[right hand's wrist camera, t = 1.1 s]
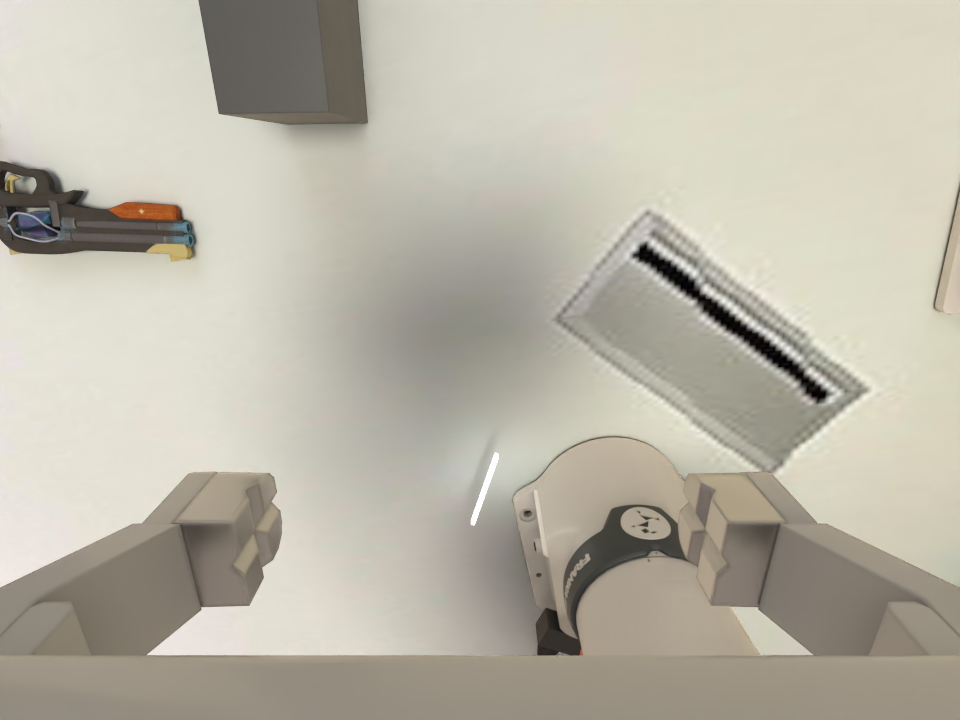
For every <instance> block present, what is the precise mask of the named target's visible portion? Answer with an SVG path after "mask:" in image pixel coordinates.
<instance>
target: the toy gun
mask: <svg viewBox="0 0 960 720" xmlns="http://www.w3.org/2000/svg"><path fill="white" fill-rule="evenodd" d="M7 171H8V172H11V173H15V174H18V175H22V176H28V177H34V178H35V179H36V182H37V186H36V189H35V191H34V192H33V194H19V193H15V188H14V181H15V180H18V179H21V178H20V177H18V176H16V175H12V174H11V175H10V176H9V177H8V179H7V181H6V184H5V182H4V178H5V175H6V172H7ZM9 183H10V191H9ZM83 192H84V191H78V190H72V191H69V192H66V193H62V194H58V193H57V192H56V191H55V185H54V181H53V179H52V177H51V176H50V175H49V174H48V173H47V172H46V171H44V170H38V169H26V168H22V167H19V166H16V165H13V164H10V163H7V162H3V161H0V239H1V241H2V242H3V243H4V244H5V245H6V246H7V247H9V250H10V254H18V253H29V254H66V253H73V252H79V251H84V250H92V251H121V252H146V253H162V254H170V259H171V261H179V260H187V259H190V257H191V256H192V250H191V247H190V246H193V243H194V239H193V236H192V235H191V234H187V233H190V232H191V225H190V223H189V222H186V221H183V220H181V218H180V210H179V208H178V206H173V205H161V204H149V203H135V202H126V203H123V204H120V205H118V206H115V207H113V208H110V209H108V210H107V209H90V208H85V207H81V206H78V205H75V203H76V202H77V201H78V200H79V199H80V197H81V196H82V194H83ZM16 207H50V212H45V211H35V212H31V213H23V212H17V209H16ZM20 230H21V231H23V232H24V233H26V234H28V235H30V236H31V237H33V238H35V239H32V238H28V237H24V236H21V231H20ZM54 237H58V238H54ZM39 238H54V239H50V240H36V239H39ZM54 240H58V241H55V242H51V241H54Z"/></svg>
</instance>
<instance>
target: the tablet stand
mask: <svg viewBox="0 0 960 720" xmlns="http://www.w3.org/2000/svg"><path fill="white" fill-rule="evenodd" d="M935 307H936V309H937V310H938V311H940V312H943V313H946V314H960V194H959V199H958V203H957V208H956V212H955V217H954V221H953V226H952V230H951V235H950V239H949V244H948V248H947V253H946V257H945V262H944V267H943V271H942V276H941V280H940V285H939V289H938V294H937V298H936V303H935Z"/></svg>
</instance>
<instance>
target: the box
mask: <svg viewBox="0 0 960 720" xmlns="http://www.w3.org/2000/svg"><path fill="white" fill-rule="evenodd" d="M199 5H200V11H201V16H202V22H203V27H204V33H205V39H206V44H207V50H208V55H209V61H210V67H211V72H212V78H213V83H214V89H215V95H216V100H217V106H218V111H219V114H223V115H229V116H236V117H242V118H249V119H255V120H261V121H268V122H274V123H281V124H340V123H368V121H367V109H366V97H365V85H364V73H363V61H362V49H361V38H360V26H359V14H358V2H357V0H199Z"/></svg>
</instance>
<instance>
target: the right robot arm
mask: <svg viewBox="0 0 960 720" xmlns="http://www.w3.org/2000/svg"><path fill="white" fill-rule="evenodd" d="M497 460H498V454H497V453H495V454H494V457H493V460H492V463H491V465H490V468H489V471H488V474H487V477H486V480H485V482H484V485H483V488H482V491H481V494H480V497H479V499H478V502H477V505H476V508H475V511H474V514H473V516H472V519H471V525H475V522H476V519H477V516H478V513H479V511H480V508H481V505H482V502H483V500H484V497H485V494H486V491H487V488H488V486H489V483H490V480H491V477H492V474H493V472H494V469H495V466H496V463H497ZM276 493H277V489H276V484H275V480H274V477H273V476H272V475H271V474H270V473H241V472H219V473H218V472H193V473H190V474H188V475H187V476H186V477H185V478H184V479H183V480H182V481H181V482H180V483H179V484H178V485H177V486H176V488H175V489H174V490H173V491H172V492H171V493H170V494H169V495H168V496H167V497H166V498H165V499H164V500H163V501H162V503H161V504H160V505H159V506H158V507H157V508H156V509H155V510H154V511H153V512H152V513H151V514H150V515H149V517H148V518H147V519H146V520H145V521H144V522H143V523H142V524H132V525H130V526H128V527H126V528H124V529H121V530H119V531H117V532H115V533H113V534H111V535H109V536H107V537H105V538H103V539H101V540H99V541H96V542H94V543H92V544H90V545H88V546H86V547H84V548H82V549H80V550H78V551H76V552H74V553H71V554H69V555H67V556H65V557H63V558H61V559H59V560H57V561H55V562H53V563H51V564H49V565H46V566H44V567H42V568H40V569H38V570H36V571H34V572H32V573H30V574H28V575H26V576H24V577H22V578H19V579H17V580H15V581H13V582H11V583H9V584H7V585H5V586H3V587H1V588H0V720H960V588H959V587H957V586H955V585H953V584H951V583H949V582H946V581H944V580H942V579H940V578H938V577H936V576H934V575H932V574H930V573H928V572H926V571H924V570H922V569H919V568H917V567H915V566H913V565H911V564H909V563H907V562H905V561H903V560H901V559H899V558H897V557H895V556H892V555H890V554H888V553H886V552H884V551H882V550H880V549H878V548H876V547H874V546H872V545H870V544H868V543H866V542H863V541H861V540H859V539H857V538H855V537H853V536H851V535H849V534H847V533H845V532H843V531H841V530H839V529H836V528H834V527H832V526H830V525H828V524H818V523H817V522H816V521H815V520H814V519H813V518H812V517H811V515H810V514H809V513H808V512H807V511H806V510H805V509H804V508H803V507H802V506H801V505H800V504H799V503H798V501H797V500H796V499H795V498H794V497H793V496H792V495H791V494H790V493H789V492H788V491H787V490H786V489H785V487H784V486H783V485H782V484H781V483H780V482H779V481H778V480H777V479H776V478H775V477H774V476H773V475H772V474H770V473H768V472H740V473H707V474H688V476H687V478H686V480H683V479H682V478H681V477H680V476H679V475H678V474H677V472H676V471H675V469H674V467H673V466H672V464H671V463H670V462H669V460H668V459H667V458H666V457H665V456H664V455H663V454H662V453H660V452H659V451H658V450H656V449H655V448H653V447H651V446H650V445H648V444H645V443H643V442H640V441H637V440H633V439H628V438H619V437H610V438H600V439H595V440H591V441H587V442H584V443H582V444H579V445H577V446H575V447H573V448H571V449H569V450H568V451H566V452H564V453H563V454H562V455H560V456H559V457H558V458H557V459H556V460H554V461H553V462H552V463H551V465H550V466H549V467H548V468H547V469H546V471H545V472H544V473H543V474H542V475H541V476H540V478H539V479H537V480H536V481H535V482H533V483H531V484H529V485H527V486H525V487H524V488H522V489H520V490H519V491H518V492H517V493H516V494H515V495H514V497H513V505H514V510H515V514H516V519H517V523H518V528H519V532H520V536H521V541H522V545H523V550H524V554H525V559H526V563H527V568H528V572H529V576H530V581H531V585H532V590H533V594H534V598H535V602H536V605H537V607H538V608H539V609H541V610H543V613H542V614H541V616H540V618H539V619H538V621H537V623H536V630H537V639H538V655H537V656H468V655H181V656H163V655H147V654H148V653H149V652H150V651H152V650H153V649H154V648H155V647H157V646H158V645H159V644H160V643H161V642H163V641H164V640H165V639H166V638H167V637H169V636H170V635H171V634H172V633H174V632H175V631H176V630H177V629H178V628H180V627H181V626H182V625H183V624H185V623H186V622H187V621H188V620H189V619H191V618H192V617H193V616H194V615H196V614H197V613H198V612H199V611H200V610H201V607H221V606H249V605H250V603H251V601H252V599H253V597H254V596H255V594H256V592H257V590H258V588H259V586H260V584H261V582H262V580H263V578H264V576H263V570H262V567H263V566H265V565H266V564H268V563H269V562H271V561H272V560H273V559H274V557H275V555H276V553H277V550H278V548H279V544H280V539H281V535H282V519H281V512H280V510H279V509H278V508H277V507H276V506H275V505H274V504H273V503H272V502H271V501H272V500H273V498H274V496H275V494H276ZM527 510H529V511H530V512H529V513H525V511H527ZM730 606H738V607H759V608H758V609H759V610H760V611H761V612H762V613H763V614H765V615H766V616H767V617H768V618H770V619H771V620H772V621H773V622H774V623H776V624H777V625H778V626H779V627H781V628H782V629H783V630H784V631H785V632H787V633H788V634H789V635H790V636H791V637H793V638H794V639H795V640H796V641H798V642H799V643H800V644H801V645H802V646H804V647H805V648H806V649H807V650H809V651H810V652H811V653H812V654H813V655H760V653H759V652H758V650H757V649H756V647H755V646H754V644H753V643H752V641H751V640H750V638H749V636H748V635H747V633H746V632H745V630H744V629H743V627H742V625H741V624H740V622H739V620H738V619H737V617H736V615H735V614H734V612H733V610H732V608H731V607H730ZM558 652H562V653H565V654H569V655H572V656H555V655H556V654H557V653H558Z"/></svg>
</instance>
